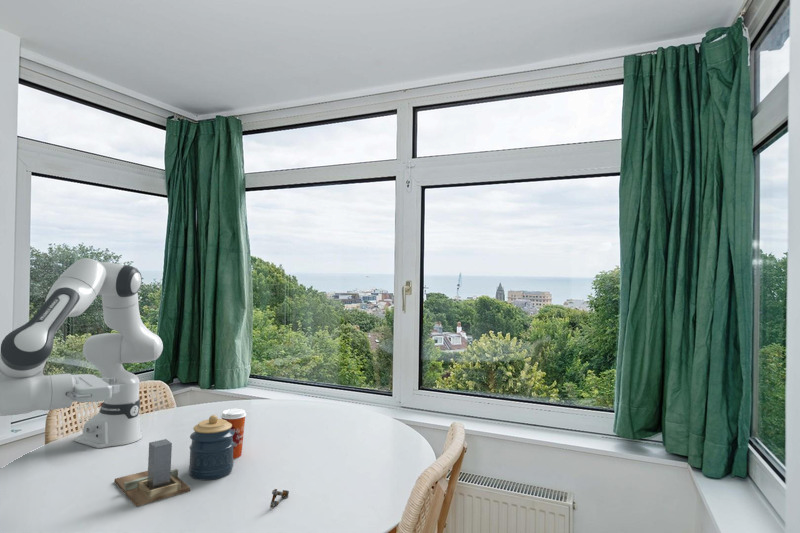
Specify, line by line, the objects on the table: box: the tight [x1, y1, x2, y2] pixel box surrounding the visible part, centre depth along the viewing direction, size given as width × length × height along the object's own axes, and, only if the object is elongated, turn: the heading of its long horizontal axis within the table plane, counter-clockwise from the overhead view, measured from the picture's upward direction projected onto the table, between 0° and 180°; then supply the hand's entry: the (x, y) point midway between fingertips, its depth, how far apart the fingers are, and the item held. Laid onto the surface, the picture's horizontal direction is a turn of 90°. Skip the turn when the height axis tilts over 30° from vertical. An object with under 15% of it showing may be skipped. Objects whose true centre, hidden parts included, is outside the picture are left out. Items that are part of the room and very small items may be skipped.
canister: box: [188, 414, 235, 481], centre depth 148 cm, size 13×13×18 cm
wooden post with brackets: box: [269, 488, 290, 509], centre depth 129 cm, size 2×8×4 cm, turn 166°
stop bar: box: [147, 438, 173, 490], centre depth 133 cm, size 4×4×13 cm
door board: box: [114, 468, 191, 507], centre depth 137 cm, size 14×20×3 cm
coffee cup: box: [220, 408, 247, 460], centre depth 162 cm, size 8×8×15 cm
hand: (121, 383), depth 134 cm, fingers open, 8 cm apart
